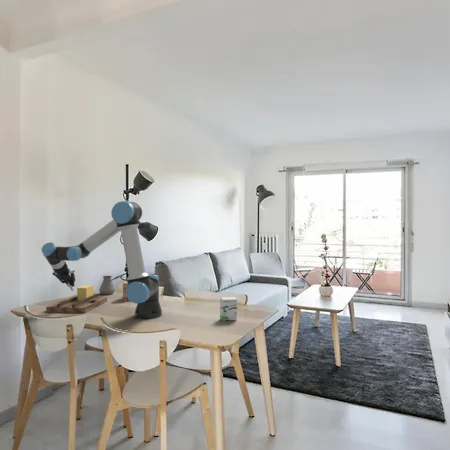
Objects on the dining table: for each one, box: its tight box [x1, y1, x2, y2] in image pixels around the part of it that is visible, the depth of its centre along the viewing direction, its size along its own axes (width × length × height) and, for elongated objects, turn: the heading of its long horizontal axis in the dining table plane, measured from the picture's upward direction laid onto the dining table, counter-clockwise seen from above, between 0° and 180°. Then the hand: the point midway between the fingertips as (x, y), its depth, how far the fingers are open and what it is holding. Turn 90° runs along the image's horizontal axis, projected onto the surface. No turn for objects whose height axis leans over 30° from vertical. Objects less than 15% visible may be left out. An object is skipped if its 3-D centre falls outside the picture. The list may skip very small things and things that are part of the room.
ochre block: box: [76, 284, 94, 301], centre depth 247 cm, size 6×10×8 cm, turn 174°
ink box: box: [219, 296, 238, 322], centre depth 208 cm, size 9×5×12 cm, turn 103°
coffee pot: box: [98, 274, 124, 296], centre depth 278 cm, size 21×12×15 cm, turn 58°
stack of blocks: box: [122, 281, 131, 302], centre depth 266 cm, size 21×6×12 cm, turn 172°
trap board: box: [45, 293, 108, 314], centre depth 239 cm, size 24×32×5 cm
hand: (73, 288), depth 233 cm, fingers closed
